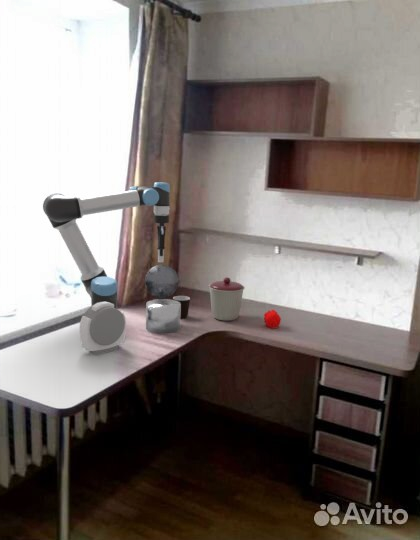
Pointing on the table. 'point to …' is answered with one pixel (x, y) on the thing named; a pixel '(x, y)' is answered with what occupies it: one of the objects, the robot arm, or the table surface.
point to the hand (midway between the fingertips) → (160, 261)
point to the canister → (226, 299)
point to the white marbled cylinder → (163, 316)
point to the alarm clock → (102, 328)
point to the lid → (161, 281)
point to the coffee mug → (183, 305)
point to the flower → (272, 319)
